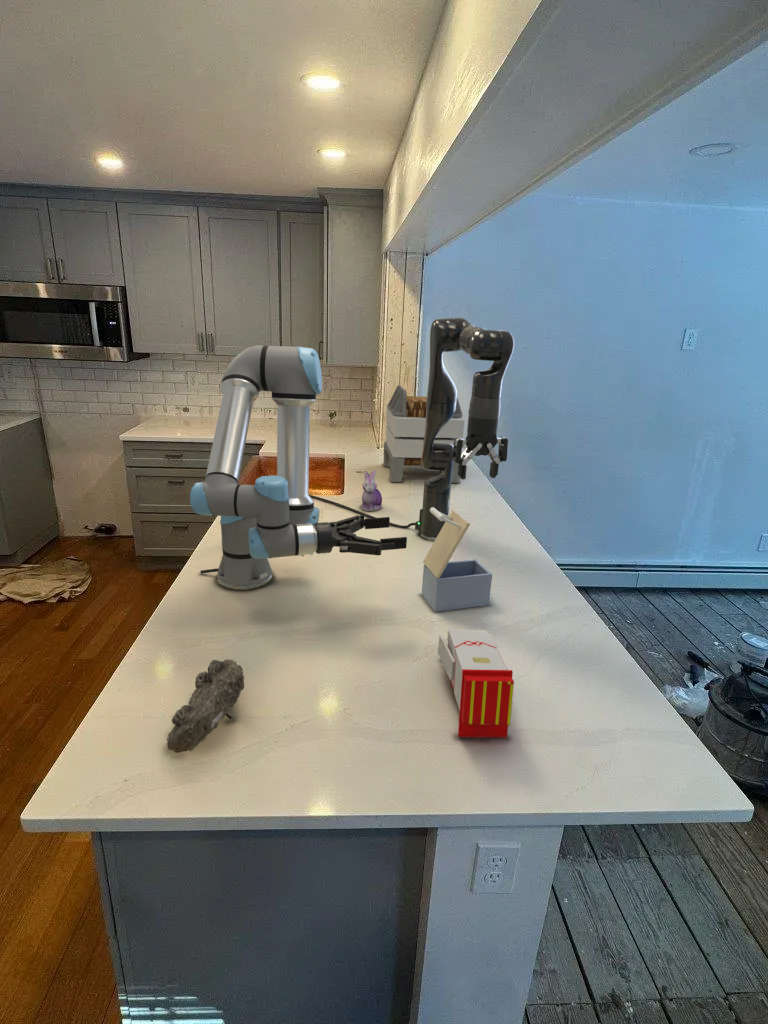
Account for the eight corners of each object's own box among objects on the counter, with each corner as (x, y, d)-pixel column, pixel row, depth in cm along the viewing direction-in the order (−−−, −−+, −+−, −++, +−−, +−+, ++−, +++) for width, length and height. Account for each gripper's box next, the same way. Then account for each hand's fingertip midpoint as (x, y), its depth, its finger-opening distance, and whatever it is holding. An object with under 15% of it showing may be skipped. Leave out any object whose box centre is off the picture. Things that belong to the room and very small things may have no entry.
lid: (454, 510, 152) (431, 499, 149) (470, 523, 143) (446, 512, 140) (425, 563, 155) (401, 553, 152) (438, 578, 146) (414, 568, 143)
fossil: (192, 660, 117) (244, 628, 112) (224, 691, 120) (276, 661, 115) (142, 746, 98) (202, 712, 93) (182, 779, 101) (242, 748, 96)
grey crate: (382, 463, 289) (386, 382, 275) (445, 464, 293) (451, 384, 279) (390, 482, 257) (394, 392, 243) (460, 483, 261) (468, 394, 247)
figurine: (366, 513, 218) (367, 475, 213) (355, 505, 226) (356, 468, 221) (387, 510, 222) (389, 473, 217) (376, 502, 231) (377, 466, 226)
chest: (473, 588, 163) (476, 559, 160) (488, 605, 154) (492, 574, 151) (421, 594, 158) (423, 564, 155) (434, 611, 149) (437, 580, 146)
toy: (488, 613, 130) (523, 677, 101) (484, 667, 133) (517, 744, 104) (435, 612, 130) (455, 676, 101) (432, 666, 133) (451, 743, 103)
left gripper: (305, 533, 150) (382, 527, 156) (324, 575, 127) (413, 566, 134) (305, 506, 147) (383, 501, 153) (324, 544, 125) (415, 537, 131)
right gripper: (464, 418, 134) (458, 483, 140) (517, 417, 138) (509, 480, 144) (451, 412, 141) (446, 475, 146) (502, 411, 145) (495, 472, 151)
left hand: (397, 531), depth 143 cm, fingers open, 13 cm apart
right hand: (477, 477), depth 145 cm, fingers open, 8 cm apart
